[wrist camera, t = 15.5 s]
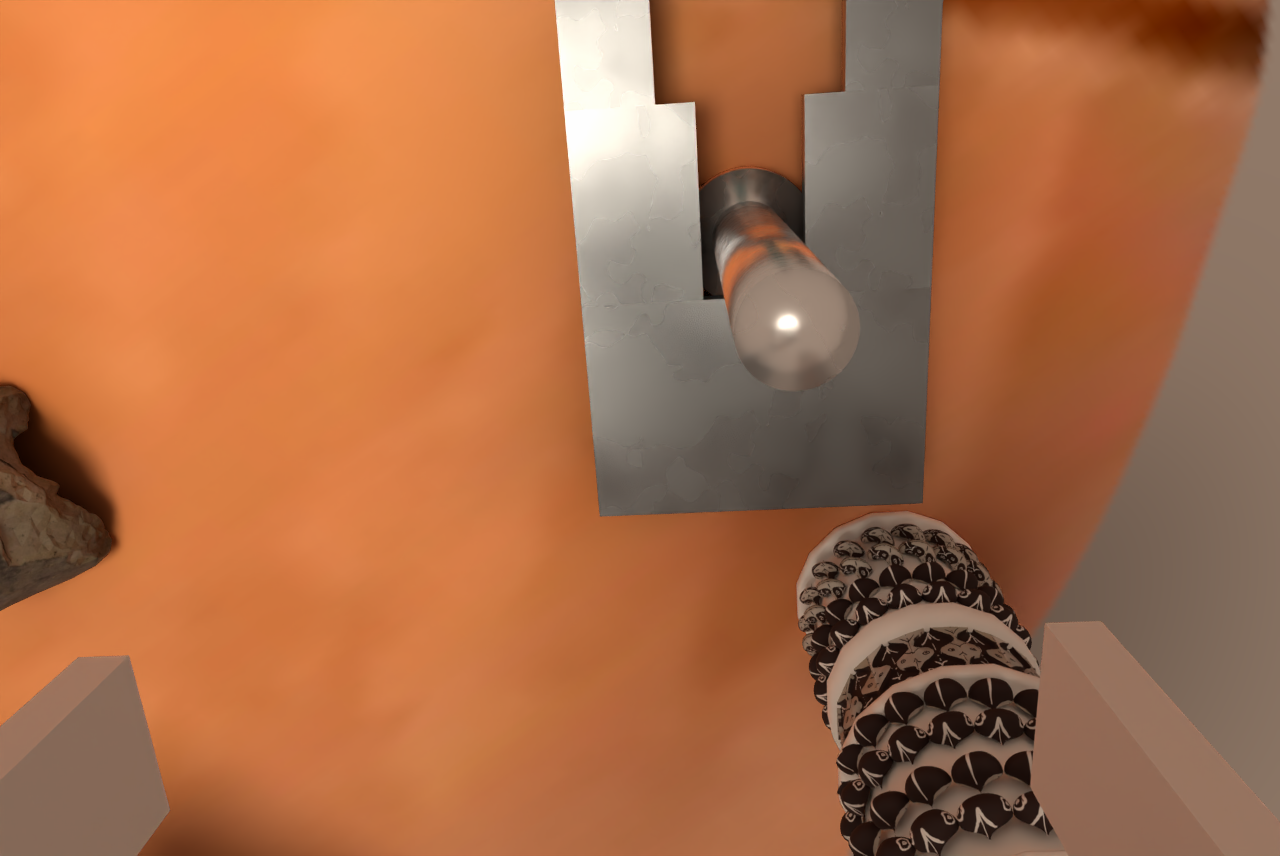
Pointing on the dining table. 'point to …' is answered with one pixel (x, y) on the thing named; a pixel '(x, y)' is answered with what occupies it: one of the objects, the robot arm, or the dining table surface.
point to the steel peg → (773, 281)
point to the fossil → (38, 519)
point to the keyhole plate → (699, 325)
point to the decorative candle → (923, 692)
